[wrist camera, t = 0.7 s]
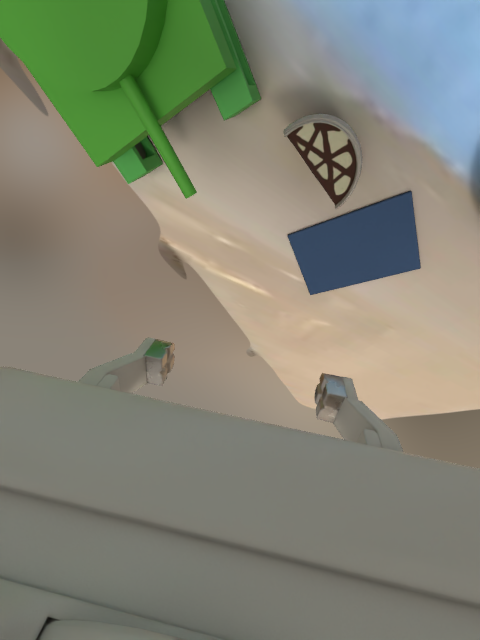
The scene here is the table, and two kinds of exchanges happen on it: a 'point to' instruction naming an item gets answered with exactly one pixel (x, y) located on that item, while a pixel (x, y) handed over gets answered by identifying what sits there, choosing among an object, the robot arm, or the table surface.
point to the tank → (130, 70)
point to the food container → (328, 153)
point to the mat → (359, 245)
